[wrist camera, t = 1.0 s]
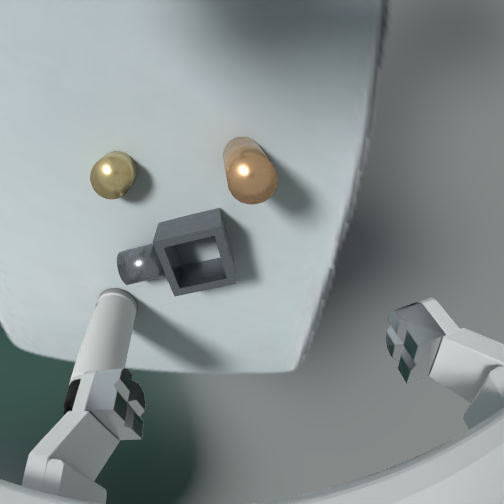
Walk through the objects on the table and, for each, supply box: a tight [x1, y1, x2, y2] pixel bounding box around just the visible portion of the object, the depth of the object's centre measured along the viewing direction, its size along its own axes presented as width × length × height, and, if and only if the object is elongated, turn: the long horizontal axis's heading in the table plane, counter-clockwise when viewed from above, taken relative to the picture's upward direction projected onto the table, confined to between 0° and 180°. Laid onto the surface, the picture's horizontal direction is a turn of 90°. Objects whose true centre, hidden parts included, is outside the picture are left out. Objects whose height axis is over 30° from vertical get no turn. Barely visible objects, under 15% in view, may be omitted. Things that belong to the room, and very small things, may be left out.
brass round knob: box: [90, 151, 137, 199], centre depth 33 cm, size 5×5×3 cm
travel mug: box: [64, 288, 137, 415], centre depth 36 cm, size 6×7×20 cm
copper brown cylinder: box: [223, 137, 278, 204], centre depth 31 cm, size 4×4×10 cm
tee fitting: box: [117, 208, 237, 296], centre depth 38 cm, size 8×14×5 cm, turn 101°
